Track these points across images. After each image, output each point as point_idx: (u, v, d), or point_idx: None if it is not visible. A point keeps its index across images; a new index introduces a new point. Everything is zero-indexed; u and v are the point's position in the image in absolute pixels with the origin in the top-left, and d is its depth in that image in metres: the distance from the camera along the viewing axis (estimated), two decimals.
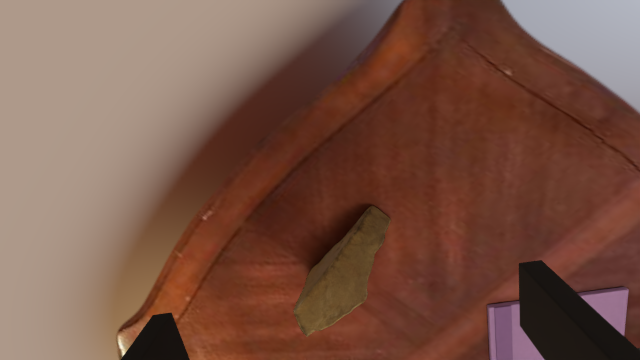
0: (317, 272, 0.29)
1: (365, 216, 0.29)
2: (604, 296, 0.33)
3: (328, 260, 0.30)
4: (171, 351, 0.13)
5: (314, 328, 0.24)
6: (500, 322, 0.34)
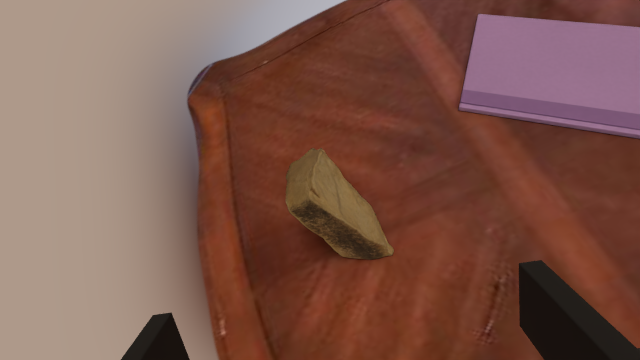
0: None
1: None
2: (479, 28, 0.37)
3: None
4: (171, 351, 0.13)
5: (309, 190, 0.21)
6: (481, 100, 0.33)
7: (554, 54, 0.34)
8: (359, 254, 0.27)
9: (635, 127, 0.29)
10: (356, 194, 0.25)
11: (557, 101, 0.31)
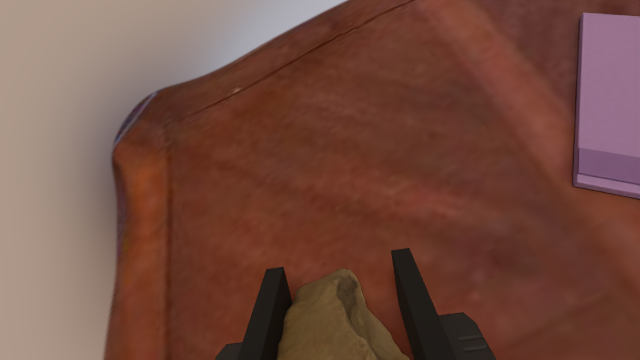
0: None
1: (298, 291, 0.16)
2: (590, 36, 0.22)
3: None
4: (286, 299, 0.14)
5: None
6: (618, 171, 0.18)
7: None
8: None
9: None
10: None
11: None
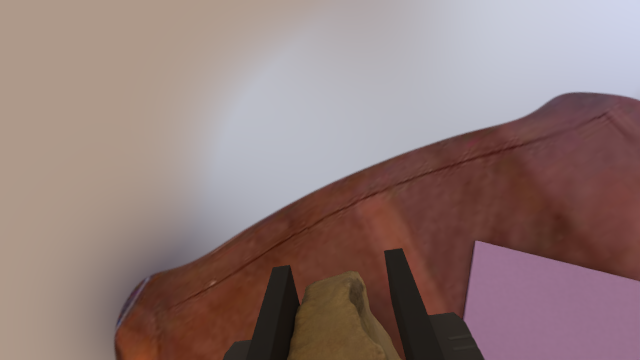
0: None
1: (307, 288, 0.16)
2: (477, 265, 0.29)
3: None
4: (293, 297, 0.14)
5: None
6: None
7: (574, 326, 0.26)
8: None
9: None
10: None
11: None
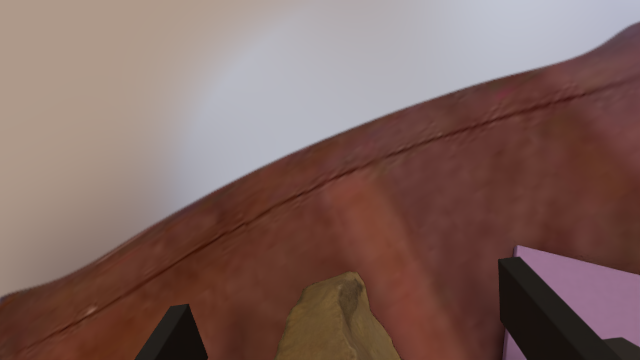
0: None
1: (304, 290, 0.17)
2: None
3: None
4: (189, 341, 0.13)
5: None
6: None
7: None
8: None
9: None
10: None
11: None
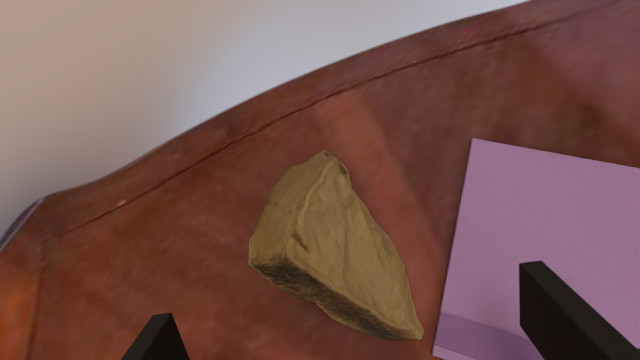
0: None
1: None
2: (474, 168, 0.21)
3: None
4: (171, 351, 0.13)
5: (289, 236, 0.11)
6: (474, 347, 0.17)
7: (615, 243, 0.18)
8: (369, 331, 0.17)
9: None
10: (379, 243, 0.15)
11: None
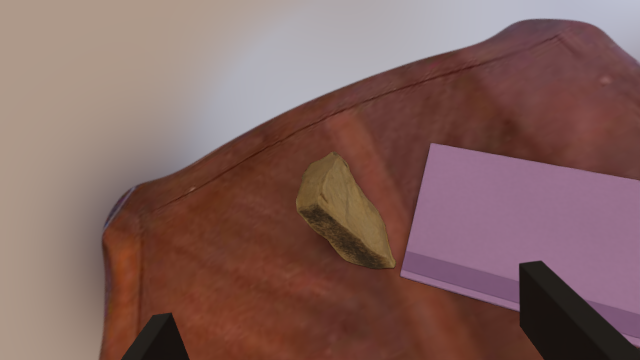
0: None
1: None
2: (431, 163, 0.32)
3: None
4: (171, 351, 0.13)
5: (318, 195, 0.22)
6: (425, 269, 0.28)
7: (514, 207, 0.29)
8: (361, 262, 0.28)
9: None
10: (366, 204, 0.25)
11: (514, 277, 0.26)
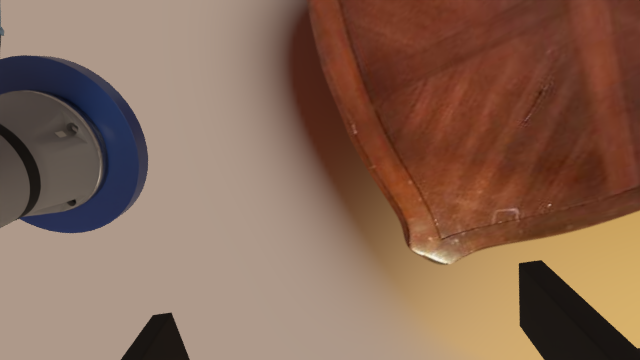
0: None
1: None
2: None
3: None
4: (171, 351, 0.13)
5: None
6: None
7: None
8: None
9: None
10: None
11: None
